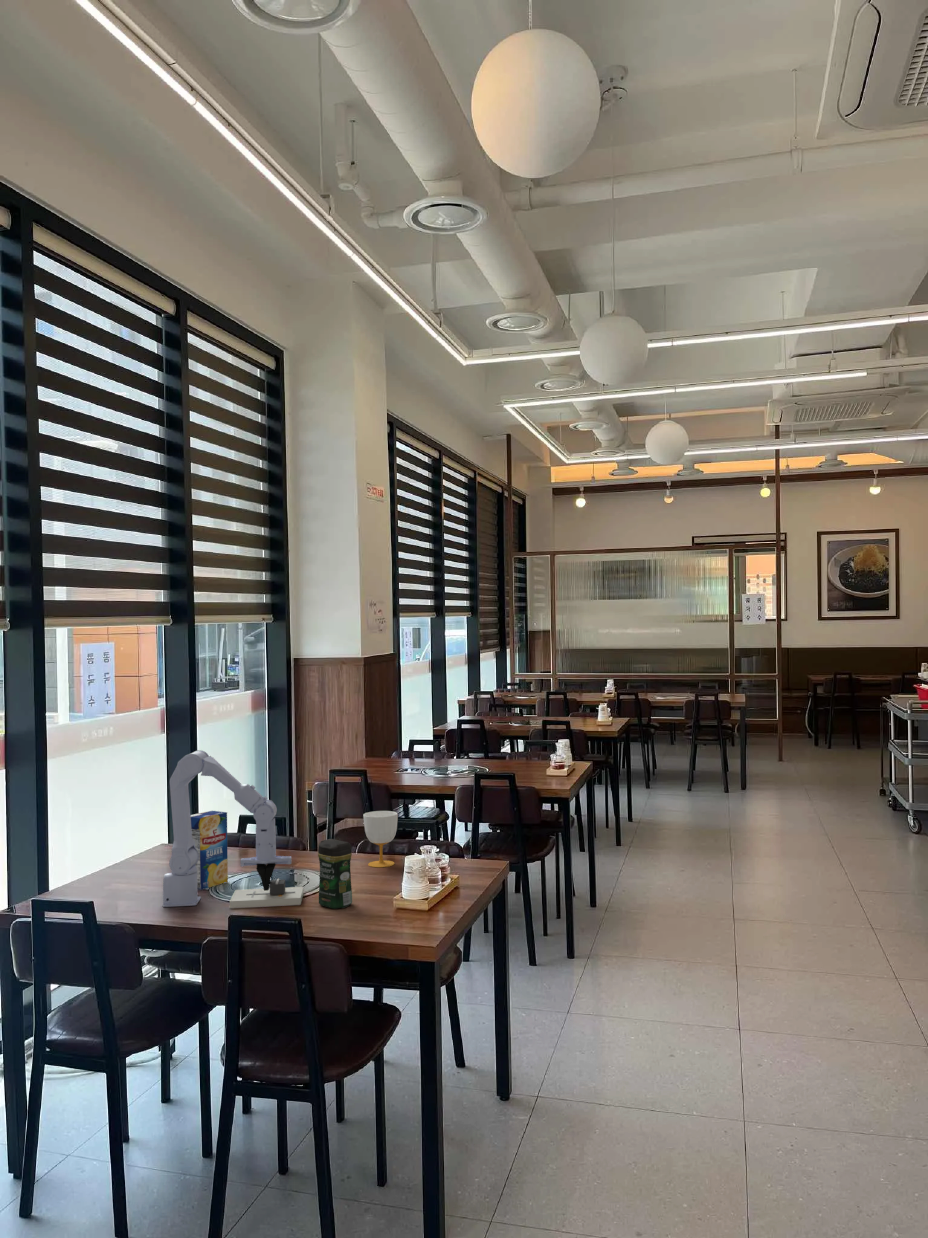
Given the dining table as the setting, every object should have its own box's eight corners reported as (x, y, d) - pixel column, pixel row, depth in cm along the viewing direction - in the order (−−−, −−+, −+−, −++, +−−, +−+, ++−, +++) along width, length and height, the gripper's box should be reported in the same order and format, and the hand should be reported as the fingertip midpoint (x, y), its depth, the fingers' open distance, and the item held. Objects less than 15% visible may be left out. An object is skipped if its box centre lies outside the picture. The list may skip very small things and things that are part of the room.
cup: (366, 860, 311) (365, 811, 311) (400, 860, 310) (399, 810, 311) (361, 868, 299) (360, 817, 299) (396, 868, 298) (395, 817, 299)
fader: (269, 895, 261) (269, 883, 261) (271, 890, 266) (271, 878, 266) (283, 894, 261) (283, 882, 261) (285, 889, 266) (285, 878, 266)
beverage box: (185, 887, 280) (185, 816, 280) (213, 879, 289) (212, 810, 290) (200, 890, 276) (199, 818, 277) (228, 882, 285) (227, 812, 286)
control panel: (229, 908, 256) (229, 900, 256) (235, 896, 268) (235, 889, 268) (300, 905, 258) (300, 897, 258) (303, 893, 270) (303, 886, 270)
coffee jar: (313, 905, 257) (312, 840, 258) (334, 899, 263) (334, 835, 264) (336, 911, 251) (335, 844, 252) (357, 905, 257) (356, 839, 258)
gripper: (238, 847, 259) (239, 894, 258) (289, 845, 260) (290, 892, 260) (242, 841, 266) (242, 888, 265) (291, 839, 267) (292, 885, 267)
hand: (266, 889), depth 263 cm, fingers closed
